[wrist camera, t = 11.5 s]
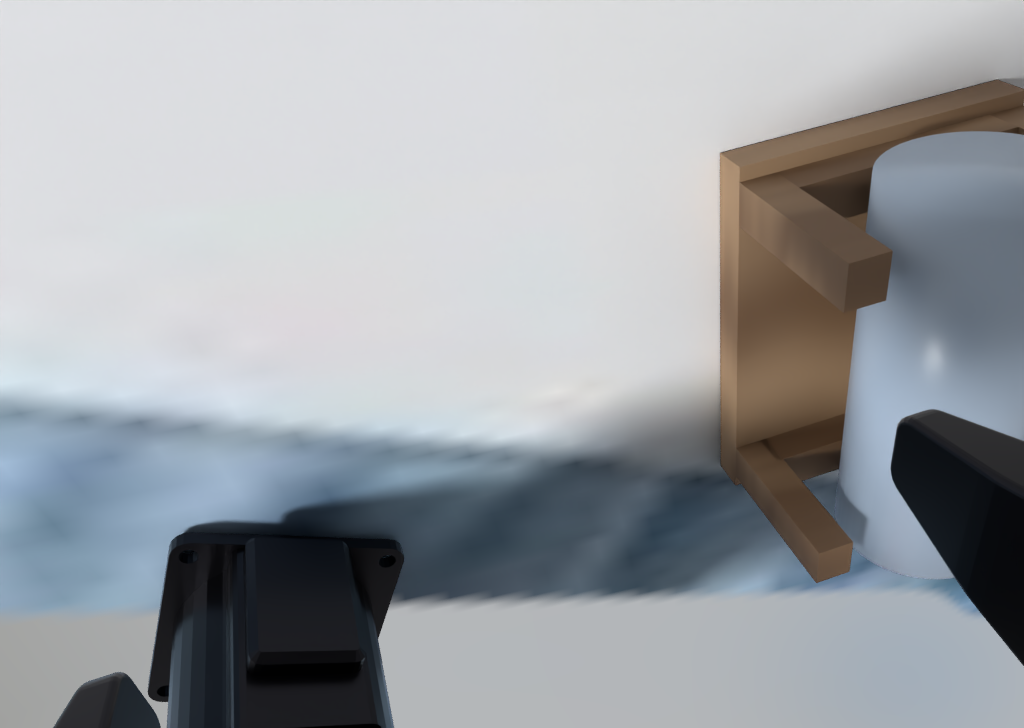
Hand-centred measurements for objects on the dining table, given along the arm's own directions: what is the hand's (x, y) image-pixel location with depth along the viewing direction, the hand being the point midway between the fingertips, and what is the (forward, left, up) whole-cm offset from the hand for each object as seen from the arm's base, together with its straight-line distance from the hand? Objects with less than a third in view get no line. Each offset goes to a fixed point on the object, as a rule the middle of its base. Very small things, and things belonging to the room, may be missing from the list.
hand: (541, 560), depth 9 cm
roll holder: (-1, -14, -12) cm, 19 cm away
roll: (-1, -14, -10) cm, 17 cm away
